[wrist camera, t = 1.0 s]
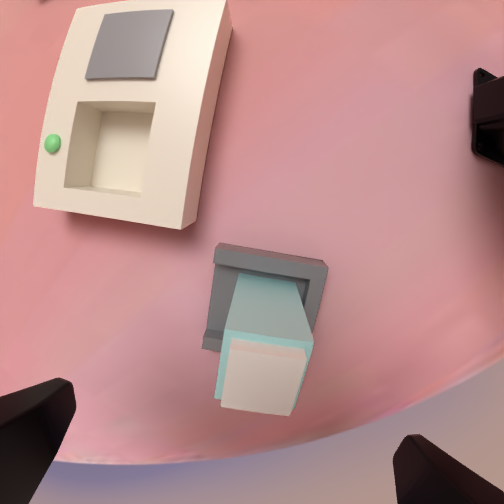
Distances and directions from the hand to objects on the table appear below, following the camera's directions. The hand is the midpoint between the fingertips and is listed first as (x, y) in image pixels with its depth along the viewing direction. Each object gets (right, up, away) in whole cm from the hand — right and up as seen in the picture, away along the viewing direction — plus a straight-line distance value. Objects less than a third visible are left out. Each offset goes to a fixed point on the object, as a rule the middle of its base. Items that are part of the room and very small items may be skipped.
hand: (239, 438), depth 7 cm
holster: (+1, +2, +12) cm, 12 cm away
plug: (+1, +2, +11) cm, 12 cm away
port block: (-6, +13, +10) cm, 17 cm away
